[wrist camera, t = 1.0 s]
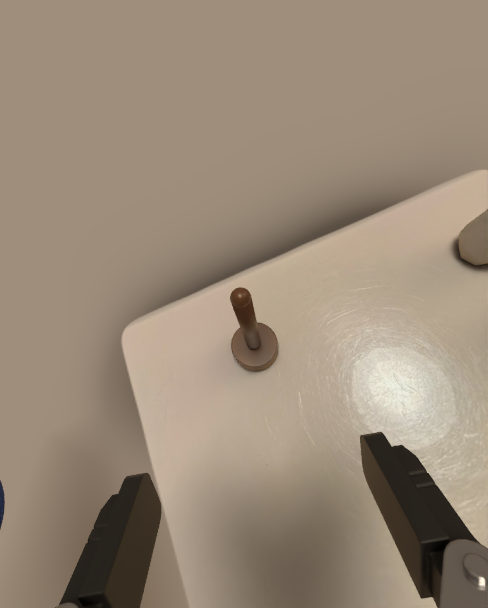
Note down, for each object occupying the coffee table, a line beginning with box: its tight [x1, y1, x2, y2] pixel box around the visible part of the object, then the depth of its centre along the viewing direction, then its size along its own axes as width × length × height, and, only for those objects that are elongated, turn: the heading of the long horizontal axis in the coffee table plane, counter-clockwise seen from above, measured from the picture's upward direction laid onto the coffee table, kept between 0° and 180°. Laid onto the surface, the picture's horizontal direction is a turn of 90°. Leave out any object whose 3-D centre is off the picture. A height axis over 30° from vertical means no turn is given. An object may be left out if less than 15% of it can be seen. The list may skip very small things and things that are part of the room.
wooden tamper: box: [230, 288, 278, 371], centre depth 29 cm, size 5×5×15 cm
